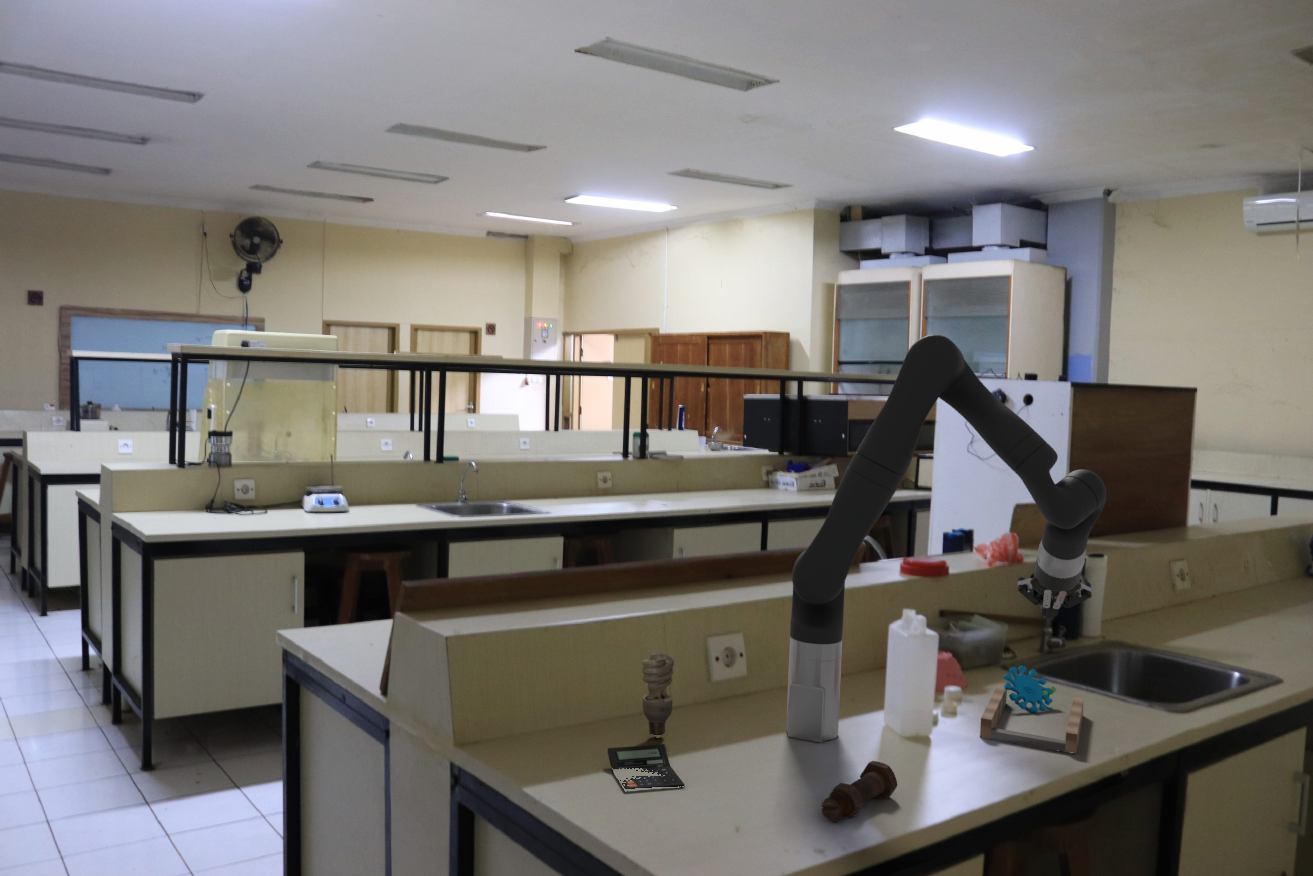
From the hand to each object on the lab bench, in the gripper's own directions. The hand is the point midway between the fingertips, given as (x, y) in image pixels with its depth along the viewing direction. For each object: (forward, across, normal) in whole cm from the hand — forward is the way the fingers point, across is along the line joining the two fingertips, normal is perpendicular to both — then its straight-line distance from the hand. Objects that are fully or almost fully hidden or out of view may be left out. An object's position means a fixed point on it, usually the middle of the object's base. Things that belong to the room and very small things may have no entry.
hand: (1048, 614), depth 182 cm
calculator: (-19, +63, +50) cm, 83 cm away
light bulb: (-7, +66, +38) cm, 77 cm away
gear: (+24, +1, +7) cm, 25 cm away
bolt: (-19, +30, +51) cm, 62 cm away
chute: (+15, +1, +15) cm, 21 cm away
